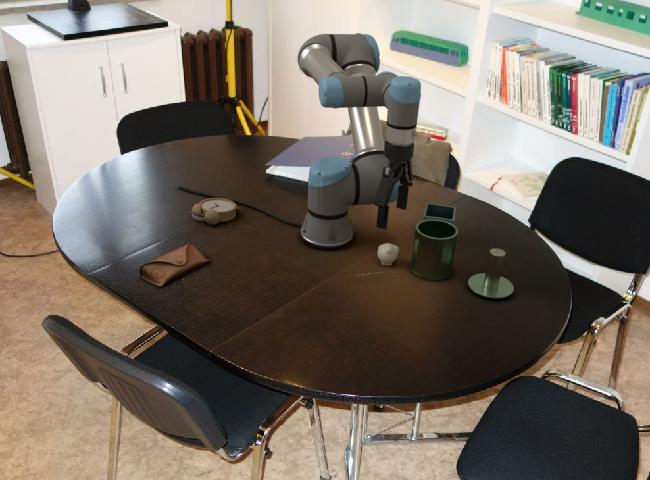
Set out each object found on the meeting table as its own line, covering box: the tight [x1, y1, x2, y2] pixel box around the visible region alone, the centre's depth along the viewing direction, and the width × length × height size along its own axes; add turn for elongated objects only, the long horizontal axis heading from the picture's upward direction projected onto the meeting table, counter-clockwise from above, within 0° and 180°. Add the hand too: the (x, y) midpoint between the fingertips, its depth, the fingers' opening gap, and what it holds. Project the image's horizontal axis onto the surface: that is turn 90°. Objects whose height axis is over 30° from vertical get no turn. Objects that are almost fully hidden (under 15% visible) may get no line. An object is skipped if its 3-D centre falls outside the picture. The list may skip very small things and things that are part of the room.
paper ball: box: [377, 242, 400, 266], centre depth 190 cm, size 6×6×6 cm
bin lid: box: [467, 248, 515, 300], centre depth 180 cm, size 12×12×11 cm
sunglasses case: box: [139, 242, 211, 287], centre depth 182 cm, size 18×7×7 cm, turn 144°
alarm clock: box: [190, 197, 240, 226], centre depth 208 cm, size 11×5×15 cm
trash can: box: [410, 219, 459, 281], centre depth 186 cm, size 11×11×13 cm
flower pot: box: [423, 202, 457, 225], centre depth 203 cm, size 9×9×9 cm
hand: (391, 218), depth 184 cm, fingers open, 13 cm apart
